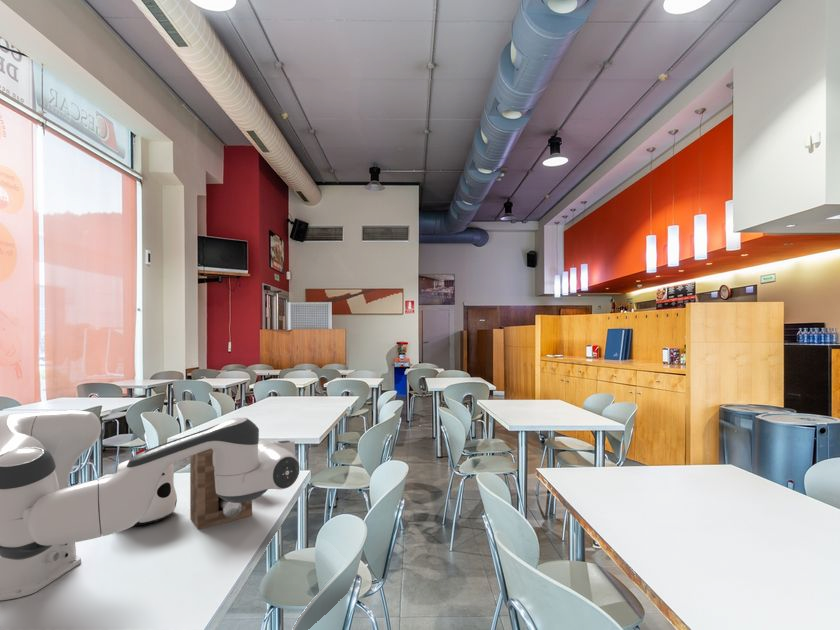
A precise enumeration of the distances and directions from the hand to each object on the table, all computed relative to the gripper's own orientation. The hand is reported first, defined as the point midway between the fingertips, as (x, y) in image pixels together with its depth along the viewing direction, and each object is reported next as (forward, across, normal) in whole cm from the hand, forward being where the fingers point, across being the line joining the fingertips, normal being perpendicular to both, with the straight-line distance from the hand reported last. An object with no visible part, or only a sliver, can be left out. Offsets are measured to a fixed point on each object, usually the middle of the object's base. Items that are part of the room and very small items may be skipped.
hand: (245, 448), depth 129 cm
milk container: (+39, -19, -26) cm, 50 cm away
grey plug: (+16, 0, -23) cm, 28 cm away
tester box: (+24, 0, -26) cm, 35 cm away
